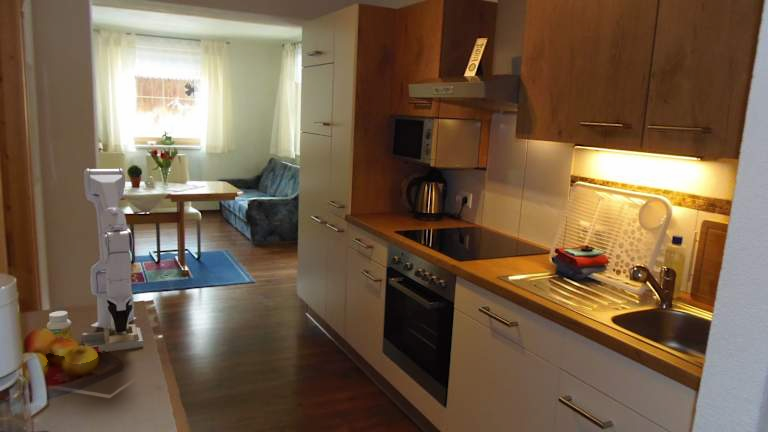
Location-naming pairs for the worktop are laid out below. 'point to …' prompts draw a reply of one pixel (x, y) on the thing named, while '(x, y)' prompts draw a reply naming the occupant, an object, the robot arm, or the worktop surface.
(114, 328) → the handle peg
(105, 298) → the robot arm
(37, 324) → the worktop surface
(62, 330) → the supplement bottle
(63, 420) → the worktop surface
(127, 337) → the crate
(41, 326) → the worktop surface
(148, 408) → the worktop surface
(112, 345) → the bay
